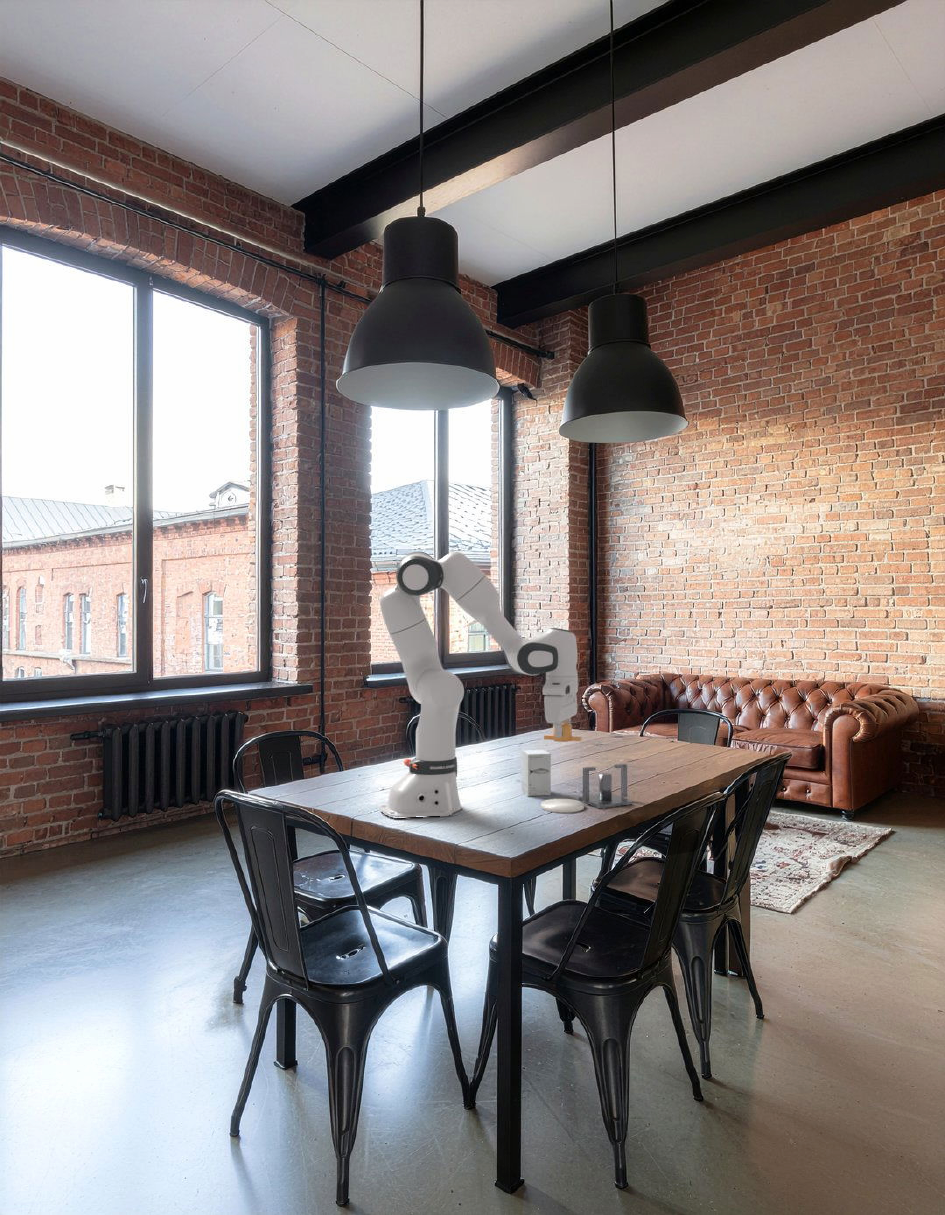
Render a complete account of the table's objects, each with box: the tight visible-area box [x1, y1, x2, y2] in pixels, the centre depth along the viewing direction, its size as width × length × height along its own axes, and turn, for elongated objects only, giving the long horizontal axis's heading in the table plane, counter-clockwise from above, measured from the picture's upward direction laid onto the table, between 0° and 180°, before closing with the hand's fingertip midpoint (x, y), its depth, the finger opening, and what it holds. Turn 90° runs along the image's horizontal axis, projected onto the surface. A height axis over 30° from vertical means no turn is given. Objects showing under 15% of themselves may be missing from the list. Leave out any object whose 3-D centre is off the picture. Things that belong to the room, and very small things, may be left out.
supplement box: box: [521, 749, 552, 797], centre depth 236 cm, size 7×7×13 cm
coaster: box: [540, 798, 585, 814], centre depth 219 cm, size 12×12×1 cm
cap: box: [543, 722, 582, 743], centre depth 219 cm, size 10×5×4 cm, turn 68°
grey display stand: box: [578, 763, 634, 809], centre depth 225 cm, size 14×11×10 cm
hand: (562, 735), depth 219 cm, fingers closed on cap, 5 cm apart
